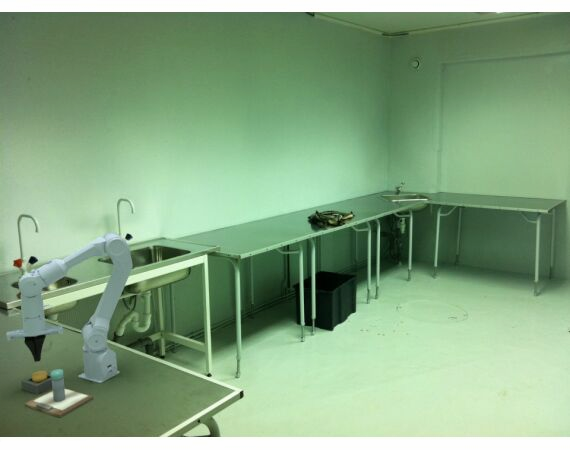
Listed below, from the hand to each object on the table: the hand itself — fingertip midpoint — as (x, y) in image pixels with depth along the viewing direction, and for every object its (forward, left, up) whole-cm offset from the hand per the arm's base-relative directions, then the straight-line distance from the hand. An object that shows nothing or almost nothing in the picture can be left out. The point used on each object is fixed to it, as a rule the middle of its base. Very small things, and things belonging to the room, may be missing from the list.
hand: (37, 360), depth 151 cm
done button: (0, 0, -6) cm, 6 cm away
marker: (-13, +4, -7) cm, 15 cm away
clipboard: (-13, +4, -8) cm, 16 cm away
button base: (0, 0, -8) cm, 8 cm away
